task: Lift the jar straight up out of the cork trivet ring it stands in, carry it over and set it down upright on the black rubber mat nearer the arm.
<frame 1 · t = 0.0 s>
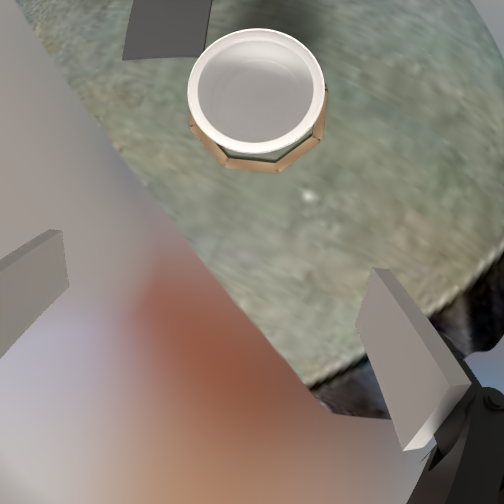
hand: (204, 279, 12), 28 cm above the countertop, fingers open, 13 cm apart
mat: (169, 12, 29), on the countertop
cork ring: (258, 105, 34), on the countertop
jar: (258, 105, 34), resting in cork ring
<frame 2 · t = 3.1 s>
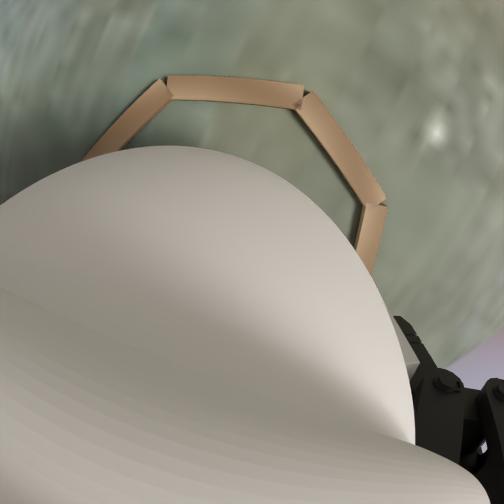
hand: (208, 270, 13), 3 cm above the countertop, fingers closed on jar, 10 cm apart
cork ring: (218, 242, 16), on the countertop
jar: (219, 240, 16), resting in cork ring, touching gripper
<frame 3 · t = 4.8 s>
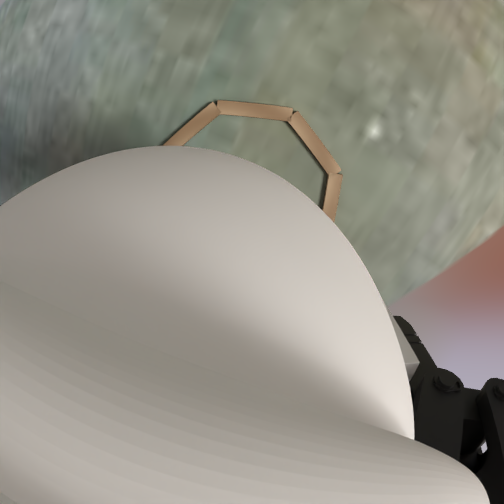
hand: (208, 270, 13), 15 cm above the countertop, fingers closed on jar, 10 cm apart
cork ring: (244, 195, 27), on the countertop
jar: (219, 240, 16), point 12 cm above the countertop, touching gripper
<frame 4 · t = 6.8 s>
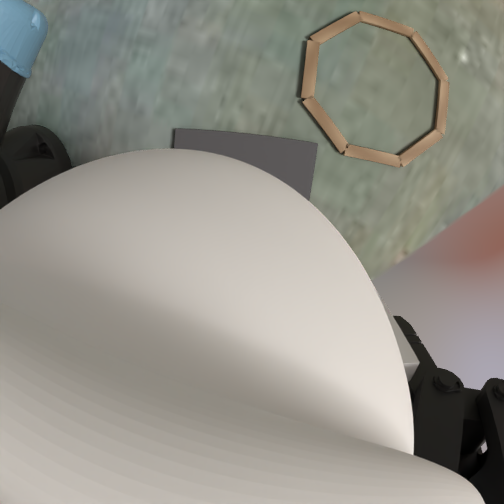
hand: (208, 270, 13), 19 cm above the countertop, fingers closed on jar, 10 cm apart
mat: (240, 187, 30), on the countertop
cork ring: (381, 86, 26), on the countertop
jar: (219, 241, 16), point 16 cm above the countertop, touching gripper
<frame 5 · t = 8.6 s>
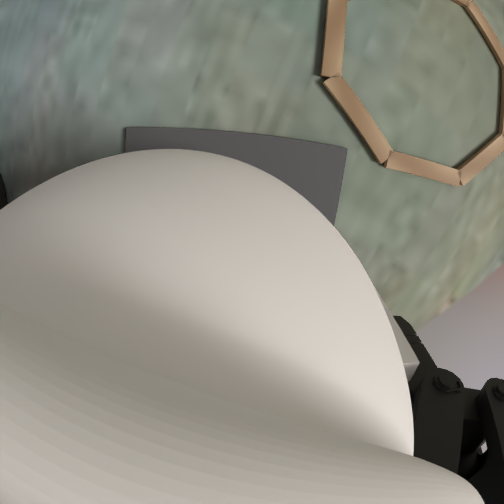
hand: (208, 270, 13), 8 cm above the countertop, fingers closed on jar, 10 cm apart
mat: (226, 216, 20), on the countertop
cork ring: (435, 67, 15), on the countertop
jar: (219, 242, 16), point 4 cm above the countertop, touching gripper
when the fingers open (5 cm above the countertop, at t = 10.3 s): jar stays where it is, resting on mat.
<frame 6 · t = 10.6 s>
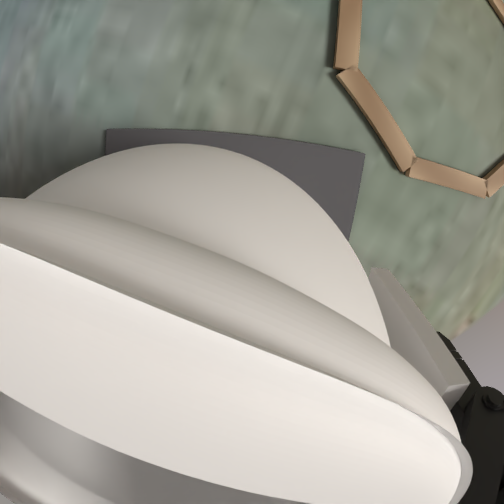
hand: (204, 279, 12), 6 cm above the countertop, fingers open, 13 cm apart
mat: (222, 232, 17), on the countertop
cork ring: (460, 63, 12), on the countertop
jar: (221, 234, 17), resting on mat
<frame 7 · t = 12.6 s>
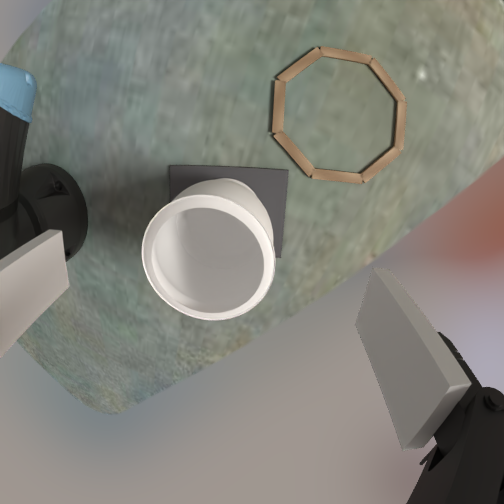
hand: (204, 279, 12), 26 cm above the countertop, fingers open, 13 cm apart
mat: (226, 211, 37), on the countertop
cork ring: (342, 114, 32), on the countertop
jar: (226, 211, 37), resting on mat
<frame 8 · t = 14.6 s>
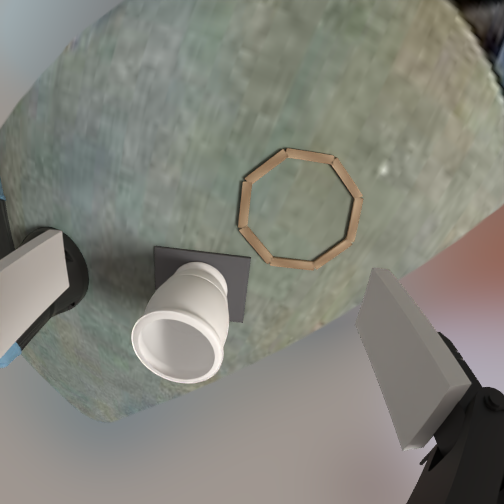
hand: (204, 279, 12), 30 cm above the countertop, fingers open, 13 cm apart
mat: (200, 285, 46), on the countertop
cork ring: (301, 211, 41), on the countertop
jar: (200, 286, 45), resting on mat
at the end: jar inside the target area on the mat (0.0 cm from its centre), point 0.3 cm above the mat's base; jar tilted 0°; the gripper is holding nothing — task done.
